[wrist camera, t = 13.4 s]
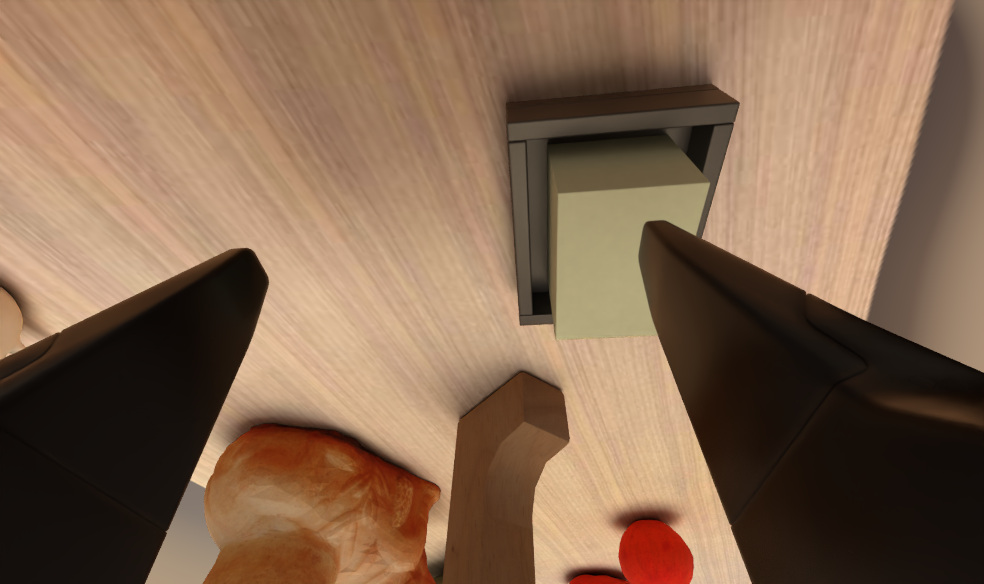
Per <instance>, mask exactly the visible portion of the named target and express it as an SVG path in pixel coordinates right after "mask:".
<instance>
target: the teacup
mask: <svg viewBox="0 0 984 584" xmlns="http://www.w3.org/2000/svg"><path fill="white" fill-rule="evenodd" d="M22 326H23V318H22V314H21V311H20V309H19V307H18V306H17V304H16V302H15V300H14V299H13V298H12V296H11V295H10V294H9V293H8V292H7V291H5V290H4V289H3V288H2V287H0V360H1V359H3V358H5V357H6V355H7V354H8V353H11V354H14V353H16V352H18V351H20V350H22V349H24V348H26V347H25V346H24V345H23V344H22V342H21V340H20V335H21V331H22Z"/></svg>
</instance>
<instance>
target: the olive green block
mask: <svg viewBox="0 0 984 584" xmlns="http://www.w3.org/2000/svg"><path fill="white" fill-rule="evenodd" d="M709 186H710V182H709V180H708V179H707V178H706V177H705V176H704V175H703V174H702V173H701V171H700V170H699V169H698V168H697V167H696V166H695V165H694V164H693V162H692V161H691V160H690V159H689V158H688V157H687V156H686V154H685V153H684V152H683V151H682V150H681V149H680V148H679V147H678V145H677V144H676V143H675V142H674V141H673V140H672V139H671V138H670V136H669V135H657V136H645V137H633V138H620V139H608V140H596V141H584V142H572V143H560V144H548V145H547V279H548V286H549V294H550V301H551V309H552V317H553V324H554V332H555V339H556V340H571V339H593V338H615V337H637V336H658V334H657V332H656V329H655V326H654V323H653V320H652V317H651V313H650V309H649V305H648V301H647V296H646V292H645V288H644V284H643V279H642V275H641V271H640V266H639V261H638V253H639V247H640V241H641V235H642V230H643V226H644V224H645V223H646V222H647V221H655V220H666V221H668V222H670V223H672V224H674V225H676V226H678V227H680V228H682V229H684V230H686V231H688V232H689V233H691V234H693V235H695V236H696V233H697V230H698V226H699V222H700V219H701V215H702V211H703V208H704V204H705V200H706V197H707V193H708V189H709Z"/></svg>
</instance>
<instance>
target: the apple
mask: <svg viewBox="0 0 984 584" xmlns="http://www.w3.org/2000/svg"><path fill="white" fill-rule="evenodd" d="M618 557H619V561H620V565H621V569H622V573H623V574H624V576H625V577H626V579H627V580H628V582H629V583H630V584H690V582H691V580H692V576H693V569H694V564H693V556H692V554H691V551H690V549H689V548H688V546H687V545H686V543H685V542H684V541H683V539H682V538H681V536H679V535H678V534H677V533H676V532H675V531H674V530H673V529H672V528H671V527H669V526H668V525H666V524H665V523H663V522H661V521H657V520H639V521H635V522H633V523H632V524H631V525H630V526H629V527H628V528H627V529H626V531H625V532H624V534H623V535H622V538H621V542H620V547H619V556H618Z"/></svg>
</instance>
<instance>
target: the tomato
mask: <svg viewBox="0 0 984 584" xmlns="http://www.w3.org/2000/svg"><path fill="white" fill-rule="evenodd" d="M570 584H630V583H629V582H628V581H626V580H622V579H618V578H613V577H610V576H607V575H599V576H592V575H580V576H577V577H575V578H574V579H572V580H571V581H570Z"/></svg>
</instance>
